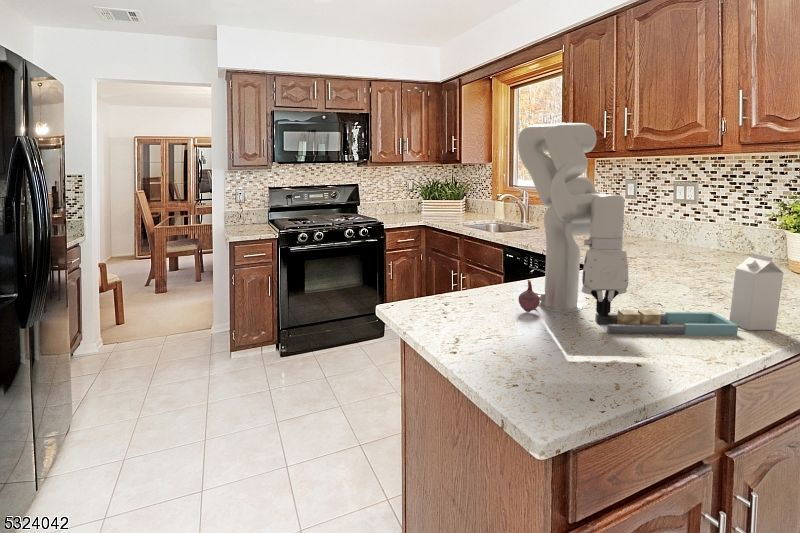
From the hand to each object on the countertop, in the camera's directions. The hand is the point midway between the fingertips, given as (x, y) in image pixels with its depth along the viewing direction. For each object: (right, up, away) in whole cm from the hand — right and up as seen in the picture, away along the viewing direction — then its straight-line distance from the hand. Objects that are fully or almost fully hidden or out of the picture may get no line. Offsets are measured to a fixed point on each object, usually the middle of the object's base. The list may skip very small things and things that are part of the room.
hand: (603, 315), depth 123 cm
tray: (+24, -4, 0) cm, 25 cm away
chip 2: (+12, -3, +1) cm, 12 cm away
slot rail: (+9, -4, +1) cm, 10 cm away
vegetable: (-14, -1, +18) cm, 23 cm away
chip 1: (+7, -3, +1) cm, 8 cm away
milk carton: (+40, -3, +3) cm, 40 cm away
